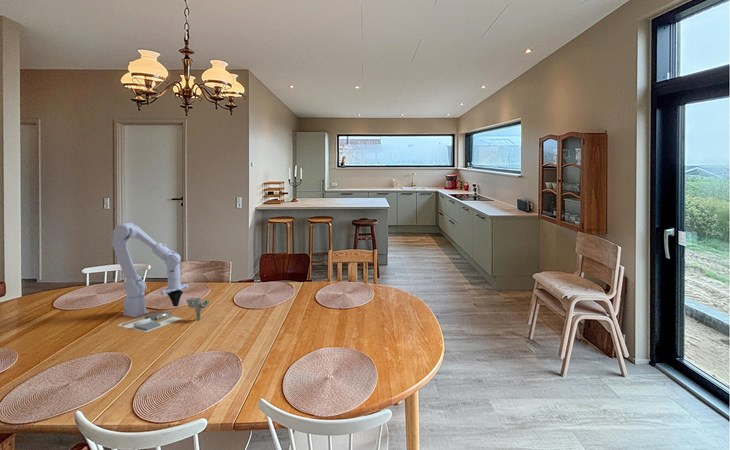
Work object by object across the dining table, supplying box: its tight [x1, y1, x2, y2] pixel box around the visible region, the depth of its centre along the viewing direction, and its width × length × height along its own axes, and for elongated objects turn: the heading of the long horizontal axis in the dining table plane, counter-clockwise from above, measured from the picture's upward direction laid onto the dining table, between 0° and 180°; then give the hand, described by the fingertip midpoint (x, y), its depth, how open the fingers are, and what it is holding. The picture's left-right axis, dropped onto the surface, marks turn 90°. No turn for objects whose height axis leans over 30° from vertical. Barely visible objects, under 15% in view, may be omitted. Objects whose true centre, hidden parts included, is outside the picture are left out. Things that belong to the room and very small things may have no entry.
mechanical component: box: [186, 297, 210, 321], centre depth 199 cm, size 3×10×10 cm, turn 78°
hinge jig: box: [116, 312, 183, 333], centre depth 196 cm, size 19×19×3 cm
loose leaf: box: [146, 310, 173, 320], centre depth 202 cm, size 8×7×2 cm
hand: (175, 305), depth 209 cm, fingers closed
